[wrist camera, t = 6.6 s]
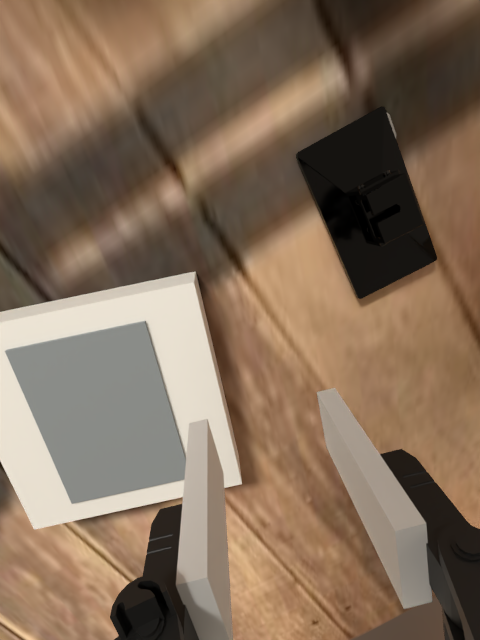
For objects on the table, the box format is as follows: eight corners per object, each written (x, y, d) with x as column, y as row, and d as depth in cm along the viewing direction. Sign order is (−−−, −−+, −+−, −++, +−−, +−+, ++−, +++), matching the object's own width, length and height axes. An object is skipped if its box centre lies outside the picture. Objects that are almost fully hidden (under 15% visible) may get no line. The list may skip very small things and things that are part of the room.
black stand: (294, 154, 27) (309, 142, 23) (384, 105, 27) (417, 82, 22) (357, 299, 31) (380, 313, 26) (438, 257, 30) (477, 265, 26)
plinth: (-28, 317, 29) (-65, 336, 25) (195, 271, 30) (193, 283, 26) (53, 493, 35) (32, 532, 31) (238, 453, 35) (242, 486, 31)
